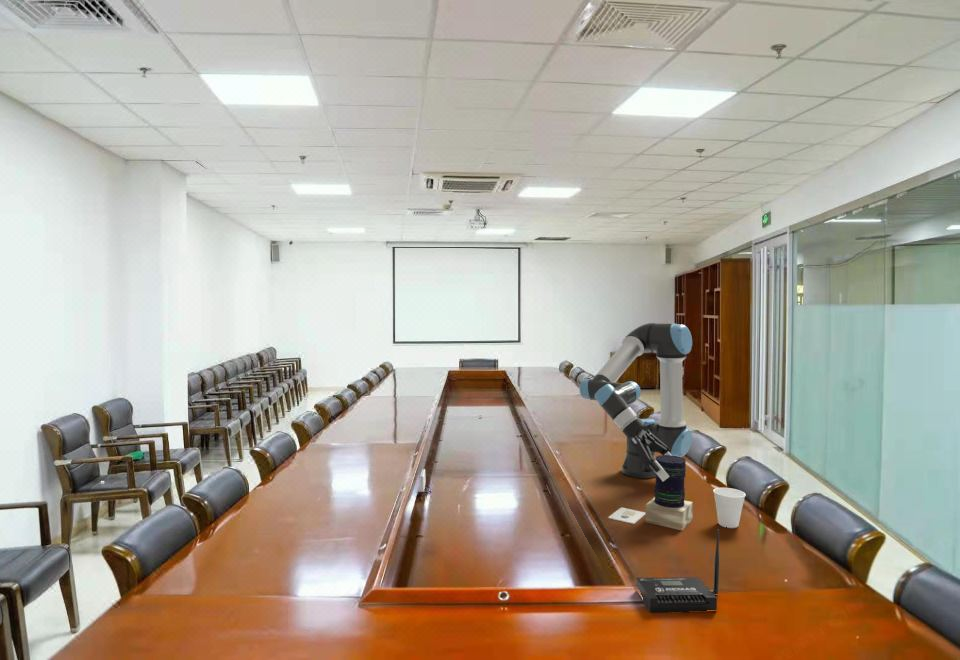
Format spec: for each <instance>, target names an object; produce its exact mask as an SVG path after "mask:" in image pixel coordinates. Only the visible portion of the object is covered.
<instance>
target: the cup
mask: <svg viewBox="0 0 960 660" xmlns="http://www.w3.org/2000/svg"><path fill="white" fill-rule="evenodd" d="M712 492H713V494H714V503H715V508H716V516H717V523H718V524H719V526H721V527H723V528H726V527H727V528H726V529H736V528H738V527H739V525H740V519H741V517H742V510H743V505H744V502H745V497H747V495H746V493H745V492H744V491H742V490H739V489H737V488H730V487H716V488H714V489H713V490H712Z"/></svg>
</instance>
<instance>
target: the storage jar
mask: <svg viewBox="0 0 960 660" xmlns="http://www.w3.org/2000/svg"><path fill="white" fill-rule="evenodd" d="M655 460H656V461H657V462H658V463H659V464H660V465H661V467H662V468H663V469H664V470H665V471H666V473H667V474H668V475H669V476H670V477H668V478H667V479H666V480H665V481H662V480H661V479H660V478H659V476H658V475H657V474H656V473H655V474H656V477H655V484H654V490H653V492H654V493H653V494H654V497H655V499H654V502H655V503H656V504H657V505H659V506H663V507H667V508H680V507H683V506H684V504H685V503H684V500H685V498H686V488H685V478H686V473H687V472H686V471H687V468H686V463H687V462H686V461H687V460H686V458H684V457H678V456H671V455H662V454H661V455H660V454H659V455H657V456H655ZM654 497H653V498H654ZM685 501H686V500H685Z"/></svg>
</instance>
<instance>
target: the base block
mask: <svg viewBox="0 0 960 660" xmlns="http://www.w3.org/2000/svg"><path fill="white" fill-rule="evenodd" d="M654 499H655V497H653V498H652V499H651V500H650V501H648V502H647V503H646V504H645V513H646V514H645V521H644V522H645V523H647V524H653V525H656V526H660V527H663V528H664V527H665V528H669V529H673V530H678V531H684V530H685V528H686V527H687V526H688V525H689V524H690V523H691V522H692V521H693V509H694V507H693V504H694V502H693V501H690V500H689V501H688V500H684V503H685V504H684V506H683V507H680V508H667V507H663V506H659V505H657V504H656V503H655V502H654Z"/></svg>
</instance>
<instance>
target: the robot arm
mask: <svg viewBox="0 0 960 660" xmlns="http://www.w3.org/2000/svg"><path fill="white" fill-rule="evenodd" d="M621 343H622V344H621V346H620V347H618V349H617V350H616V351H615V352H614V353H613V355H612V356H611V357H610V358H609V359H608V360H607V362H605V364H604V365H603V366H602V367H601V368H600V370H599V371H598V372H597V373H596V374H595V375H594V377H593V378H592V379H590V378H586V379H583V380H581V382H580V384H579V394H580V396H581V397H582V398H583V399H585V400H590V401H597V403H598V404H599V406H600V407H601V408H602V409H603V410H604V411H605V412H606V414H607V415H608V416H609V417H610V418H611V419H612V421H613V422H614V423H615V424H614V425H615V426H617V427H618V428H619V429H621V430H622V433H623V435H625V437H626V451H625V452H626V454H625V456H624V458H623V459H624V460H623V462H622V465H621V473H622V474H624V476H625V475H626V476H628V477H632V478H636V479H639V478H640V479H653V478H656V474H657V475H658V476H659V478H660V479H661V480H662V481H665V480H666V479H667V478H668V477H670V476H669V475H668V474H667V473H666V471H665V470H664V469H663V468H662V467H661V465H660V464H659V463H658V462H657V461H656V460H655V459H656V456H655V453H658V454H659V455H660V454H661V455H671V456H678V457H681V458H683V457H684V456H685V455H687V454H688V452H689V450H690V449H691V446H692V442H693V433H692V430H691V429H689V428H687V422H686V421H685V419H683V361H684V360H686V359H687V354H690V352H691V351H692V347H693V338H692V334H691V331H690V330H689V328H688V327H687V326H686V325H685V324H680V323H679V324H678V323H657V322H649V323H645V324H642V325H639V326H638V327H636V328H634V329H632V331H630V332H629V333H628V334H627V335H626V336H625V337H624V338H623V339H622V342H621ZM646 352H656V353H655V357H656V358H657V359H658V360H659V368H660V369H659V377H660V378H659V379H660V380H659V381H660V383H659V384H660V385H659V387H660V388H659V389H660V393H659V395H660V397H659V398H660V399H659V400H660V408H659V409H660V410H659V411H660V417H659V419H658V420H655V419H653V418H639V417H638V414H637V413H636V412H635V411H634V409H633V408H631V407H630V405H631V404H633V403H635V402H636V401H637V400H639V399H640V397H641V395H642V391H641V387H640V386H639V384H638V383H637V382H635V381H632V380H630V381H625V382H623V383H622V382H621V383H620V382H617V381H618V380H619V379H620V378H621V377H622V375H623V374H624V372H626V371H627V369H628V368H629V367H630V366H631V365H632V363H633V362H634V361H635V359H636V358H637V357H640V356H642V355H643V354H644V353H646ZM655 473H656V474H655Z"/></svg>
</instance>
